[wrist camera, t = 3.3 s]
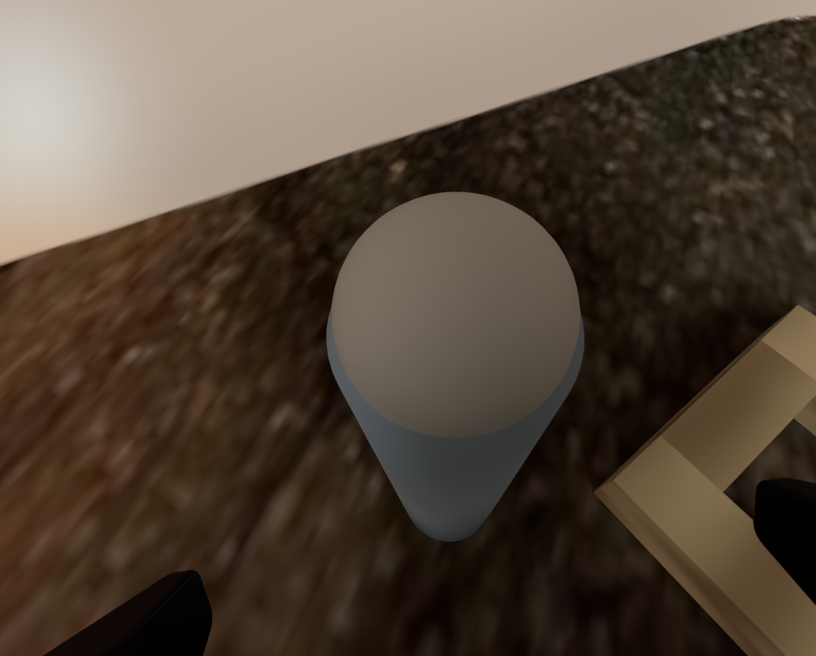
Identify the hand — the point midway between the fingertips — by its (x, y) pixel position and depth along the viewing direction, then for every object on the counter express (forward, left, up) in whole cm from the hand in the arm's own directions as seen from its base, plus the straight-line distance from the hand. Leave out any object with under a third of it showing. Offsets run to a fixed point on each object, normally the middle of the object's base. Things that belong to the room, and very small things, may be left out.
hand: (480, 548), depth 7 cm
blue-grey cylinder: (+2, -1, -11) cm, 12 cm away
